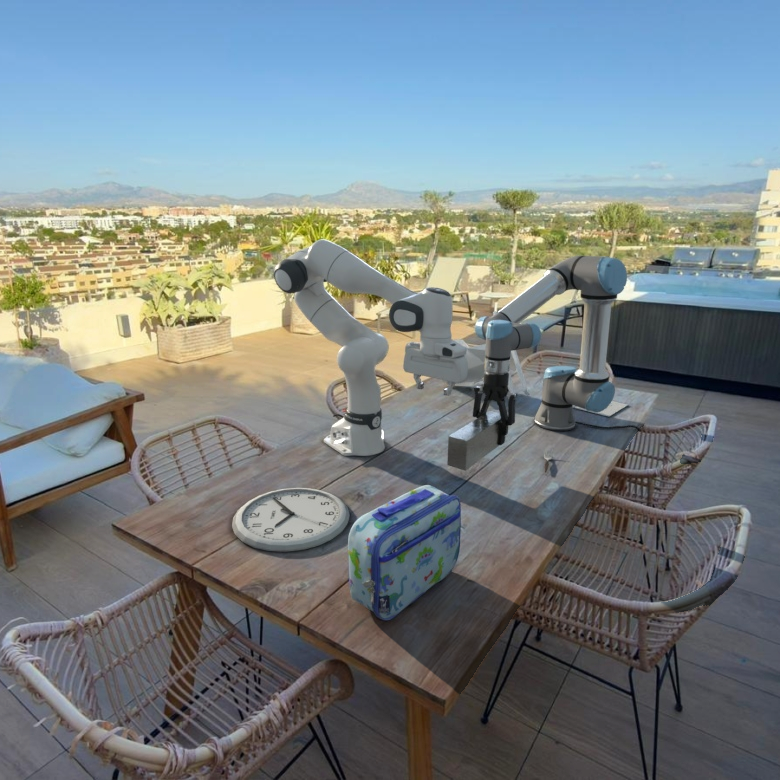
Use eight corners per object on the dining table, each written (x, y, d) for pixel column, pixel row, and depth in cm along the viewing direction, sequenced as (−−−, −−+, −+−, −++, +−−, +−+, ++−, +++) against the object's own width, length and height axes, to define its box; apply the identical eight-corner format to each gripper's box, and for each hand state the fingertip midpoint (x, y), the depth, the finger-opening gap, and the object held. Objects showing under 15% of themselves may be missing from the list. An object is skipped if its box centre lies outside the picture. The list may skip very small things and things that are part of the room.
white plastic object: (461, 429, 252) (437, 405, 227) (444, 352, 274) (420, 323, 250) (535, 404, 240) (518, 377, 215) (510, 326, 262) (492, 293, 237)
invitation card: (608, 416, 214) (573, 407, 224) (608, 416, 214) (573, 408, 224) (628, 404, 229) (594, 396, 238) (628, 405, 229) (594, 397, 238)
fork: (540, 473, 163) (541, 467, 163) (544, 453, 178) (545, 448, 177) (549, 474, 162) (550, 468, 162) (552, 454, 177) (553, 449, 176)
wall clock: (350, 543, 123) (219, 547, 120) (350, 549, 123) (220, 553, 121) (349, 483, 151) (243, 486, 149) (349, 488, 152) (243, 491, 149)
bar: (488, 437, 171) (489, 410, 168) (504, 441, 168) (507, 414, 165) (447, 465, 151) (448, 435, 149) (465, 470, 148) (467, 441, 145)
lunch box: (378, 635, 98) (379, 537, 91) (341, 606, 105) (340, 513, 99) (464, 574, 115) (470, 488, 109) (427, 553, 122) (431, 471, 116)
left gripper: (399, 342, 153) (398, 387, 157) (460, 353, 141) (457, 401, 145) (411, 339, 158) (410, 382, 162) (472, 349, 146) (468, 396, 150)
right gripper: (463, 369, 162) (460, 437, 169) (520, 379, 151) (514, 452, 159) (474, 364, 168) (471, 430, 175) (531, 374, 157) (524, 444, 164)
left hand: (433, 391), depth 153 cm, fingers open, 8 cm apart
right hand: (491, 441), depth 167 cm, fingers closed on bar, 6 cm apart
